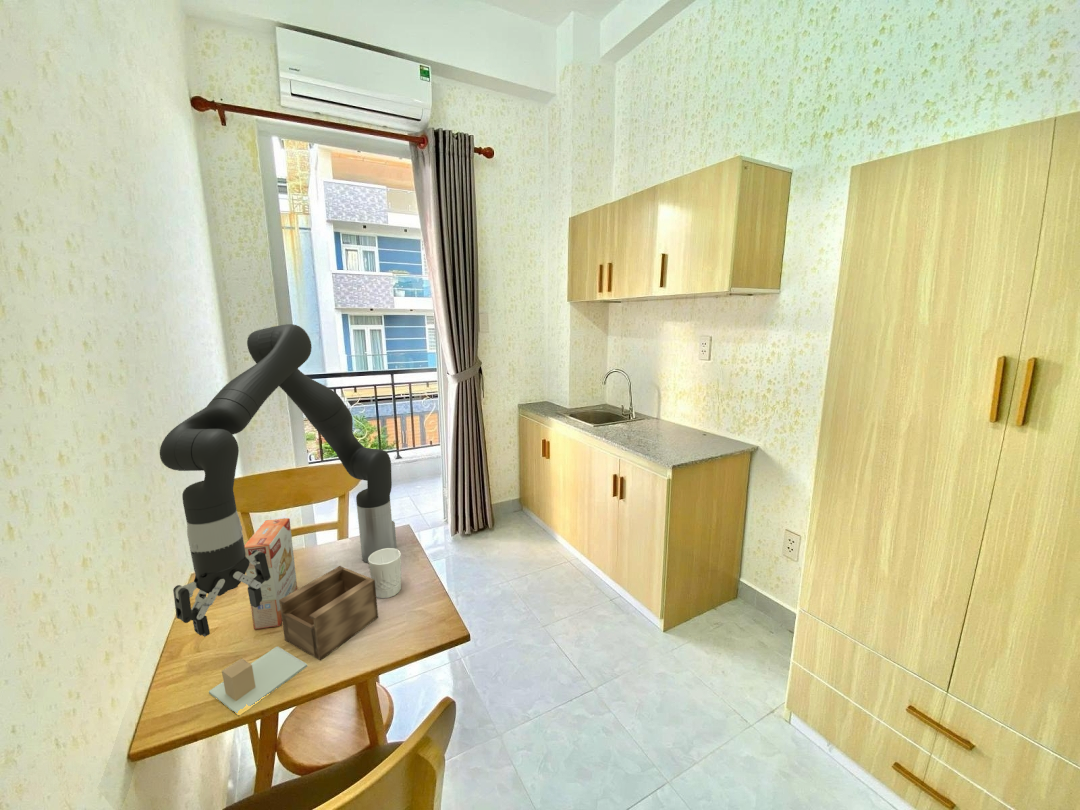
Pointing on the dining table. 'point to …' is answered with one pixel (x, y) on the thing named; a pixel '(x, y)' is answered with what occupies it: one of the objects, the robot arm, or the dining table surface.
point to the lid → (256, 678)
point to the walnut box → (328, 611)
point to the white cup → (386, 571)
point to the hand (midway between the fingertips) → (231, 619)
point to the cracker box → (273, 570)
